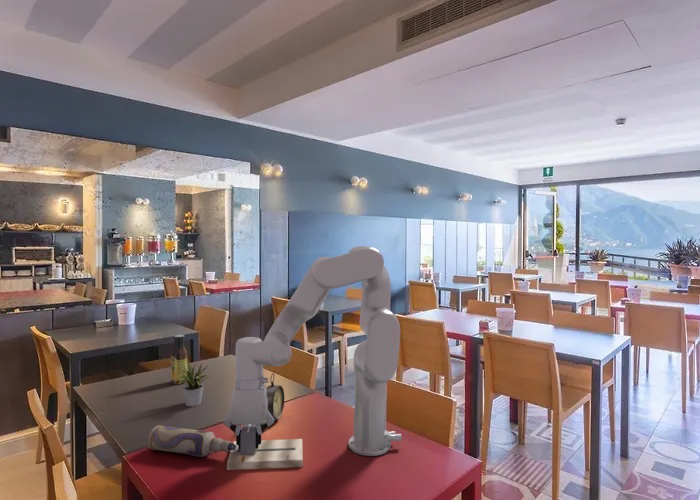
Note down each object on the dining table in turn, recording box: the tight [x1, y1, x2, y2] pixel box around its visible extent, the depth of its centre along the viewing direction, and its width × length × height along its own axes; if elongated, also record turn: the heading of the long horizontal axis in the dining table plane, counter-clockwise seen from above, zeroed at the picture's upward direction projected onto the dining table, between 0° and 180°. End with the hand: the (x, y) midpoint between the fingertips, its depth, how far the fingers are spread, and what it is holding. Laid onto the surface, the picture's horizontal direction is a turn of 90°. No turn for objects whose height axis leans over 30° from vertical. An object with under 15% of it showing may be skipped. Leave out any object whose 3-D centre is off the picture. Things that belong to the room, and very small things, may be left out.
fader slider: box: [240, 424, 257, 454], centre depth 122 cm, size 4×5×6 cm
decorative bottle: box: [147, 424, 236, 458], centre depth 123 cm, size 26×8×7 cm, turn 77°
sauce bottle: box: [170, 334, 188, 385], centre depth 182 cm, size 7×6×20 cm
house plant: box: [175, 360, 213, 407], centre depth 160 cm, size 14×14×16 cm
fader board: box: [226, 438, 304, 471], centre depth 123 cm, size 20×12×2 cm, turn 97°
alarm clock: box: [266, 372, 285, 428], centre depth 146 cm, size 11×5×16 cm, turn 168°
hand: (248, 446), depth 122 cm, fingers closed on fader slider, 4 cm apart
